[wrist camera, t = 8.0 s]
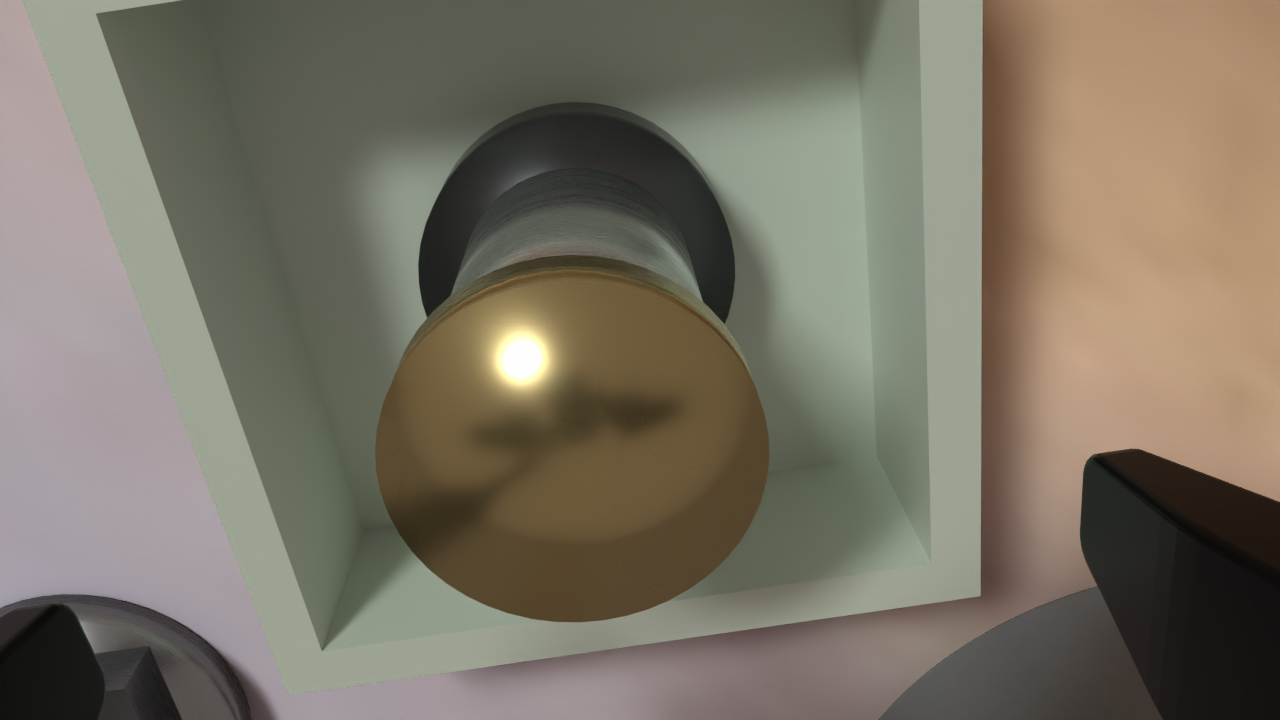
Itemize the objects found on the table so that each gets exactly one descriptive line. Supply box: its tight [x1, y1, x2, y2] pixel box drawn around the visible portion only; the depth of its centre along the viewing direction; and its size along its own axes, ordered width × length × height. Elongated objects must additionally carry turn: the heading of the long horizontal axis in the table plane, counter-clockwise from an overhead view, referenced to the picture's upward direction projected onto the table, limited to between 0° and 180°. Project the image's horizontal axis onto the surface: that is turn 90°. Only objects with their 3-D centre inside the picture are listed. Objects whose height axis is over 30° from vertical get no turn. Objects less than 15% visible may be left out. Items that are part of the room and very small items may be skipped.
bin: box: [22, 0, 983, 695], centre depth 16 cm, size 12×12×4 cm
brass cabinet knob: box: [375, 102, 769, 622], centre depth 14 cm, size 5×5×7 cm
